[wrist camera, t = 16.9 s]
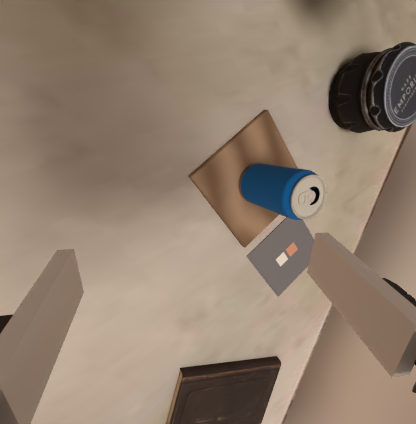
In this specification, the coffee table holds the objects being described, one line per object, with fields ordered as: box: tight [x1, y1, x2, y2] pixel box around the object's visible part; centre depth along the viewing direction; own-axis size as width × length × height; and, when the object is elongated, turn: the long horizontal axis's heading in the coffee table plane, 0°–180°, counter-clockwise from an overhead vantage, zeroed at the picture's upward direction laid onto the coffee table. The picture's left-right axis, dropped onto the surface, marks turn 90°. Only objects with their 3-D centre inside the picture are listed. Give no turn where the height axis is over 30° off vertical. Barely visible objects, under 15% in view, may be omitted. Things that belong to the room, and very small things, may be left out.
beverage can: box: [240, 164, 327, 220], centre depth 37 cm, size 6×6×12 cm
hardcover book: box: [167, 356, 281, 424], centre depth 53 cm, size 16×23×2 cm
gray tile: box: [247, 217, 314, 296], centre depth 50 cm, size 13×13×1 cm
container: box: [329, 42, 416, 133], centre depth 43 cm, size 13×13×10 cm
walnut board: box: [189, 110, 298, 247], centre depth 43 cm, size 16×16×1 cm
